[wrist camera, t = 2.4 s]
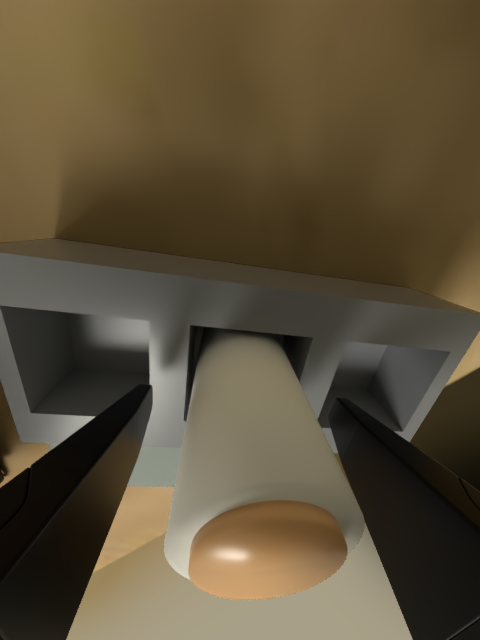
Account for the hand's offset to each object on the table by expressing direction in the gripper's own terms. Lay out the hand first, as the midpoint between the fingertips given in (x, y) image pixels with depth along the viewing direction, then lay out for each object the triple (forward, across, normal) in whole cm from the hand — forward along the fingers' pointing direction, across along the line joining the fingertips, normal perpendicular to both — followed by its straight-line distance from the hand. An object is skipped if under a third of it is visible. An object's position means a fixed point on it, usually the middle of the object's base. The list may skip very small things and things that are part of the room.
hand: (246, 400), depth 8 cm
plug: (+4, 0, 0) cm, 4 cm away
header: (+5, 0, 0) cm, 5 cm away
